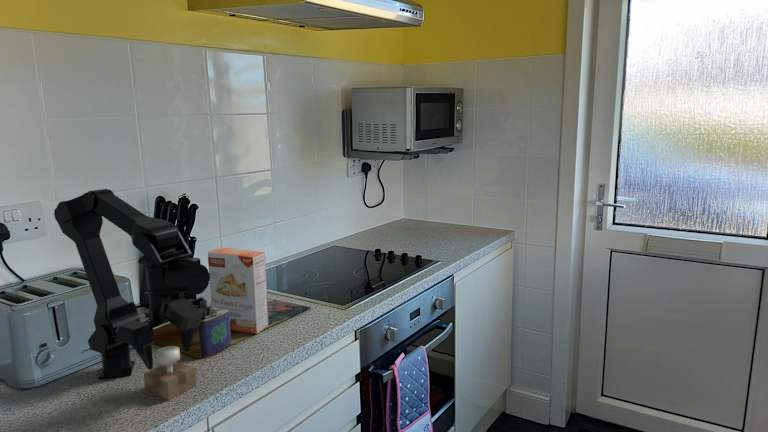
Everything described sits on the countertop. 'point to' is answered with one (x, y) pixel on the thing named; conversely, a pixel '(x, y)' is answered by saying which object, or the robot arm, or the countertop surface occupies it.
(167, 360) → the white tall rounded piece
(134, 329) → the robot arm
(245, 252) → the cracker box
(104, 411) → the countertop surface
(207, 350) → the flask
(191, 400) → the countertop surface
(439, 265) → the countertop surface
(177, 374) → the block
